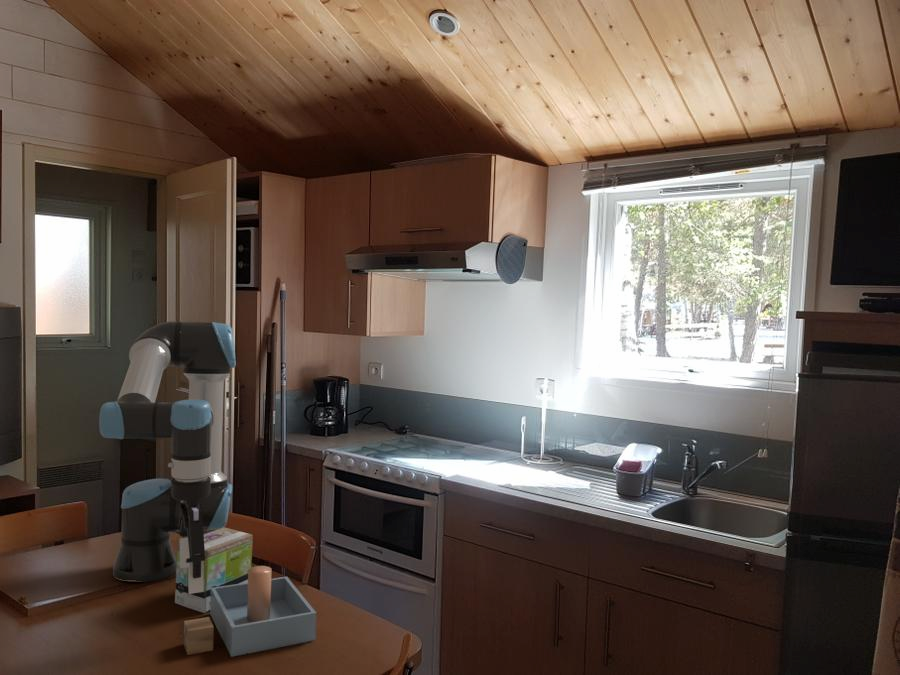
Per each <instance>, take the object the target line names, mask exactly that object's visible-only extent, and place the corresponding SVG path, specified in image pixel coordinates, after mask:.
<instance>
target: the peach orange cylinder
mask: <svg viewBox="0 0 900 675" xmlns="http://www.w3.org/2000/svg"><path fill="white" fill-rule="evenodd" d="M272 573H273V572H272V568H271V567H270V566H266V565H257V566H251V568H250V569H249V570H248V597H247V621H248V622H250V623H252V622H257V621H263V620H269V619H270V605H271V579H272Z"/></svg>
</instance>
